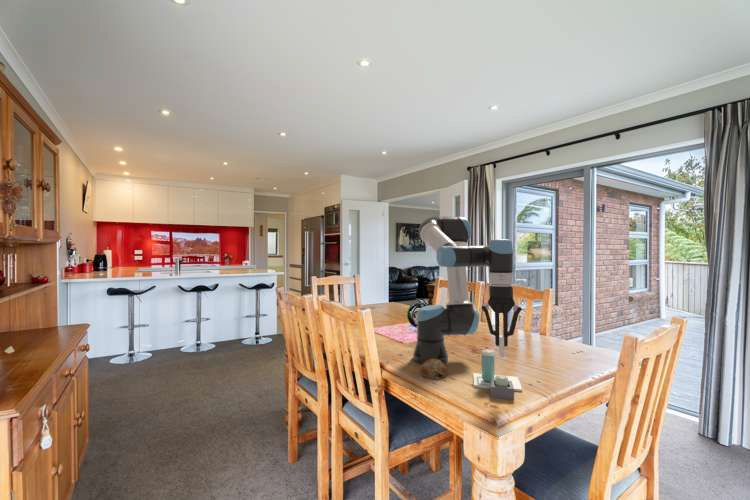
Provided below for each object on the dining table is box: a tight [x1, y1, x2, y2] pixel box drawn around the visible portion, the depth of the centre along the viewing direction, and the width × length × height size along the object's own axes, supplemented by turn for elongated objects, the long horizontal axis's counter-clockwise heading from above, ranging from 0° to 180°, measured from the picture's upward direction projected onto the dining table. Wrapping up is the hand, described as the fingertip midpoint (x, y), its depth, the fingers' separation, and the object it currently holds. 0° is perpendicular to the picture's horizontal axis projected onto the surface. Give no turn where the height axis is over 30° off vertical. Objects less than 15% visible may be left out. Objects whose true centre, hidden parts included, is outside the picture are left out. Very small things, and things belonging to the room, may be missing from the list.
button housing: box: [489, 379, 515, 401], centre depth 118 cm, size 7×7×4 cm
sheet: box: [472, 372, 523, 393], centre depth 128 cm, size 16×12×1 cm
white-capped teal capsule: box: [481, 349, 495, 383], centre depth 127 cm, size 4×4×11 cm
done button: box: [495, 374, 508, 387], centre depth 118 cm, size 4×4×4 cm
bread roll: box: [420, 358, 448, 380], centre depth 136 cm, size 10×10×8 cm
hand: (501, 355), depth 118 cm, fingers closed
